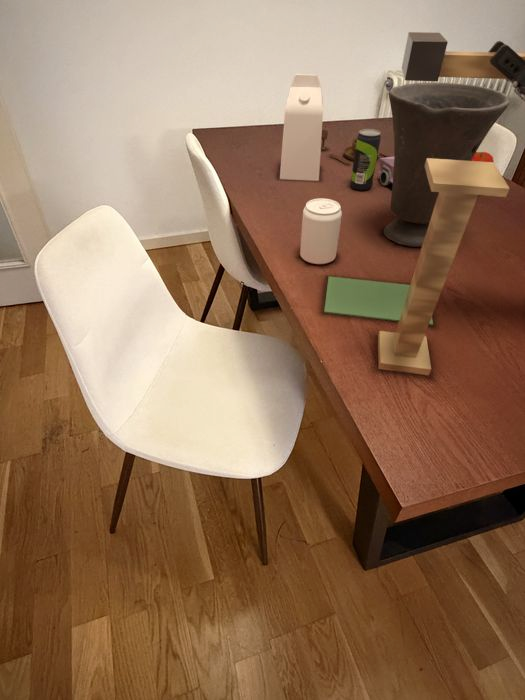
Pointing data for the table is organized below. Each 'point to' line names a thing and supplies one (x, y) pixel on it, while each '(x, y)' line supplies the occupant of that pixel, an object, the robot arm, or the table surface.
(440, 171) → the stand
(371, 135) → the beverage can
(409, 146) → the vase
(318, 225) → the beverage can
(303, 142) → the milk
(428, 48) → the mallet
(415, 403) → the table surface
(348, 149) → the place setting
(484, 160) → the apple
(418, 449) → the table surface
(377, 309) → the felt mat
